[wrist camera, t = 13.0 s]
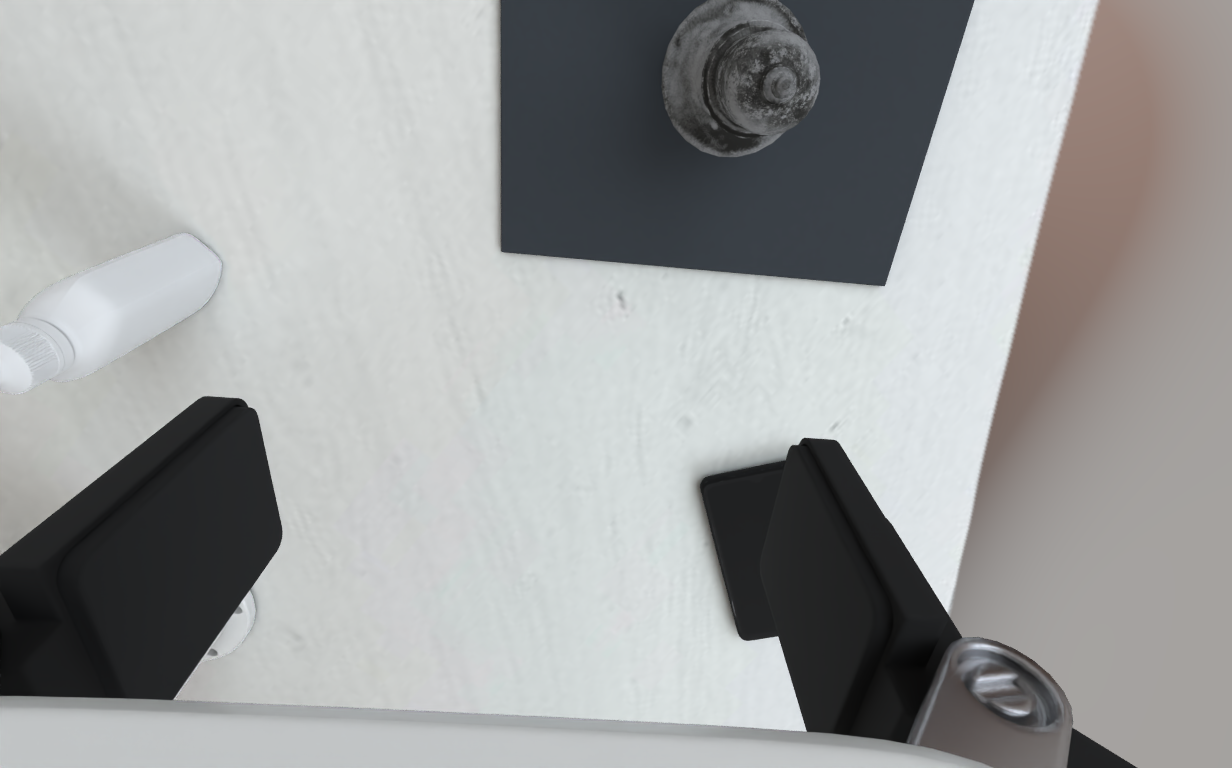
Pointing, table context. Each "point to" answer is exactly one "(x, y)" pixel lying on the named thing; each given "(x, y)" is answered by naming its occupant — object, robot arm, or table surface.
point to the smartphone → (743, 540)
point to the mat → (701, 182)
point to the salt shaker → (738, 76)
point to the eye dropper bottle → (106, 312)
